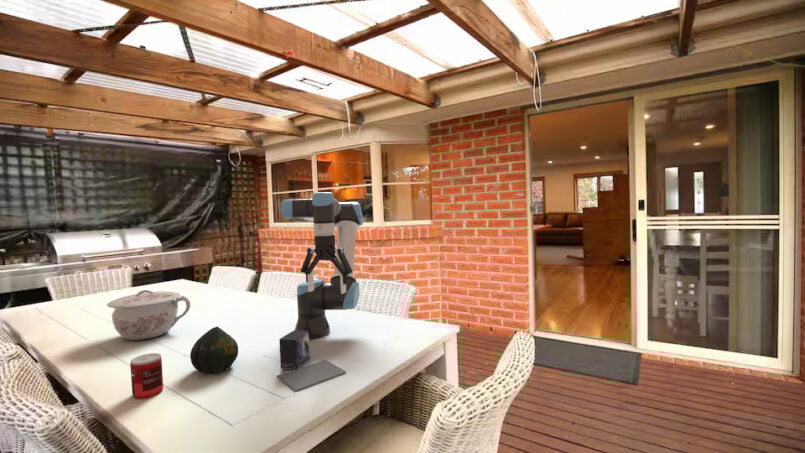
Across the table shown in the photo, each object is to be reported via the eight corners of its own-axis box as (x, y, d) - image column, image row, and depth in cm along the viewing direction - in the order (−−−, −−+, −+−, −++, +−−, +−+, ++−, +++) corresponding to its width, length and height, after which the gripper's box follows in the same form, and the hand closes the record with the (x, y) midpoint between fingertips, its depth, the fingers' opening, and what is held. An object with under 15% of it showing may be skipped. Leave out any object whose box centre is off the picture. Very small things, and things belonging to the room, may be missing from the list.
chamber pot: (94, 342, 161) (91, 295, 160) (157, 323, 186) (154, 282, 185) (137, 349, 150) (133, 299, 149) (197, 328, 176) (194, 285, 175)
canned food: (142, 388, 117) (139, 353, 116) (168, 386, 118) (166, 352, 117) (126, 400, 109) (123, 364, 109) (154, 398, 110) (152, 362, 109)
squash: (198, 369, 117) (225, 324, 125) (173, 361, 125) (200, 320, 133) (231, 384, 126) (254, 342, 134) (206, 376, 134) (229, 337, 142)
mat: (276, 376, 122) (276, 375, 122) (325, 360, 134) (325, 359, 134) (295, 391, 112) (295, 390, 112) (346, 373, 123) (346, 371, 123)
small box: (297, 370, 125) (295, 339, 125) (279, 369, 127) (277, 339, 127) (311, 358, 136) (309, 329, 136) (294, 358, 137) (293, 329, 137)
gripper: (289, 235, 136) (292, 292, 138) (350, 235, 128) (353, 296, 130) (301, 233, 143) (303, 287, 145) (360, 233, 135) (362, 291, 137)
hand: (327, 292), depth 137 cm, fingers open, 13 cm apart
